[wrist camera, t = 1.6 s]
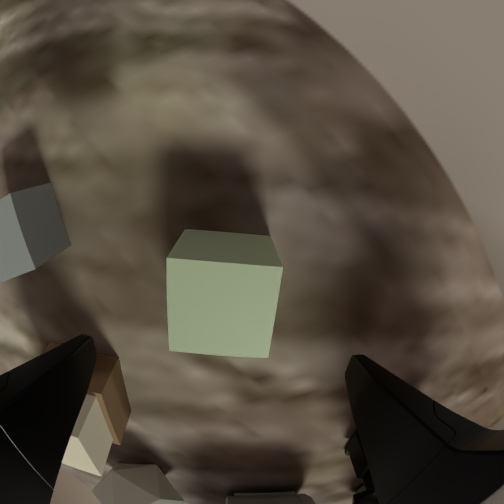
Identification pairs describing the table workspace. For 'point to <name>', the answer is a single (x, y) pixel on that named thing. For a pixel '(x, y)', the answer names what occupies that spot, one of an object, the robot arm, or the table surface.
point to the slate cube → (29, 230)
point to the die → (136, 486)
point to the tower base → (109, 393)
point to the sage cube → (222, 293)
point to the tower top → (89, 439)
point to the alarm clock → (269, 498)
